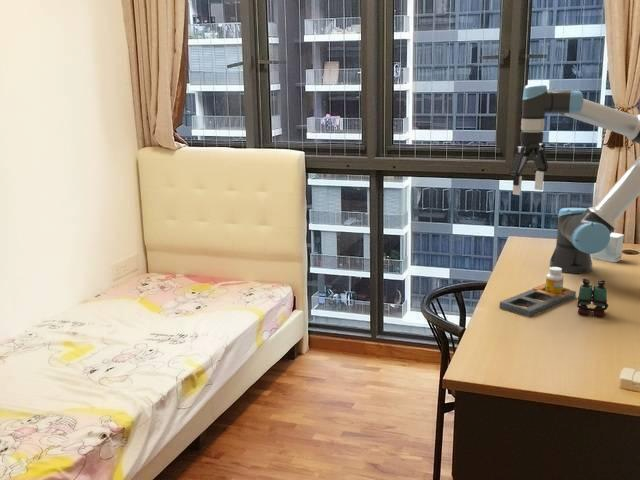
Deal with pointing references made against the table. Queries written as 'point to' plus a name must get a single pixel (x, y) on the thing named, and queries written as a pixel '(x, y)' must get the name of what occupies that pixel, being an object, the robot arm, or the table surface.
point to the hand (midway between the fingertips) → (527, 192)
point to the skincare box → (611, 249)
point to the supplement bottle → (554, 280)
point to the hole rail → (533, 304)
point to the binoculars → (592, 299)
